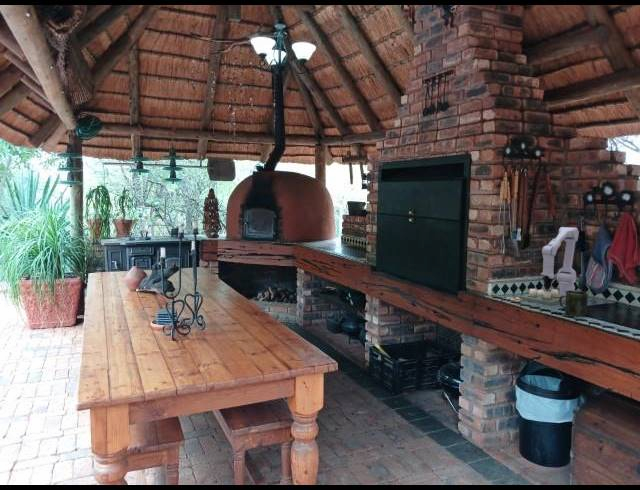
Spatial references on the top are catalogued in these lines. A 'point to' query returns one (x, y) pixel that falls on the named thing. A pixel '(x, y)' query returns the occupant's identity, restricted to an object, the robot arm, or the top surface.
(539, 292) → the beige cylinder
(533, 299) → the grey-green board with holes
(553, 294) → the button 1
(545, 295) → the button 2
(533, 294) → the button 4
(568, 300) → the mug
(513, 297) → the tile
